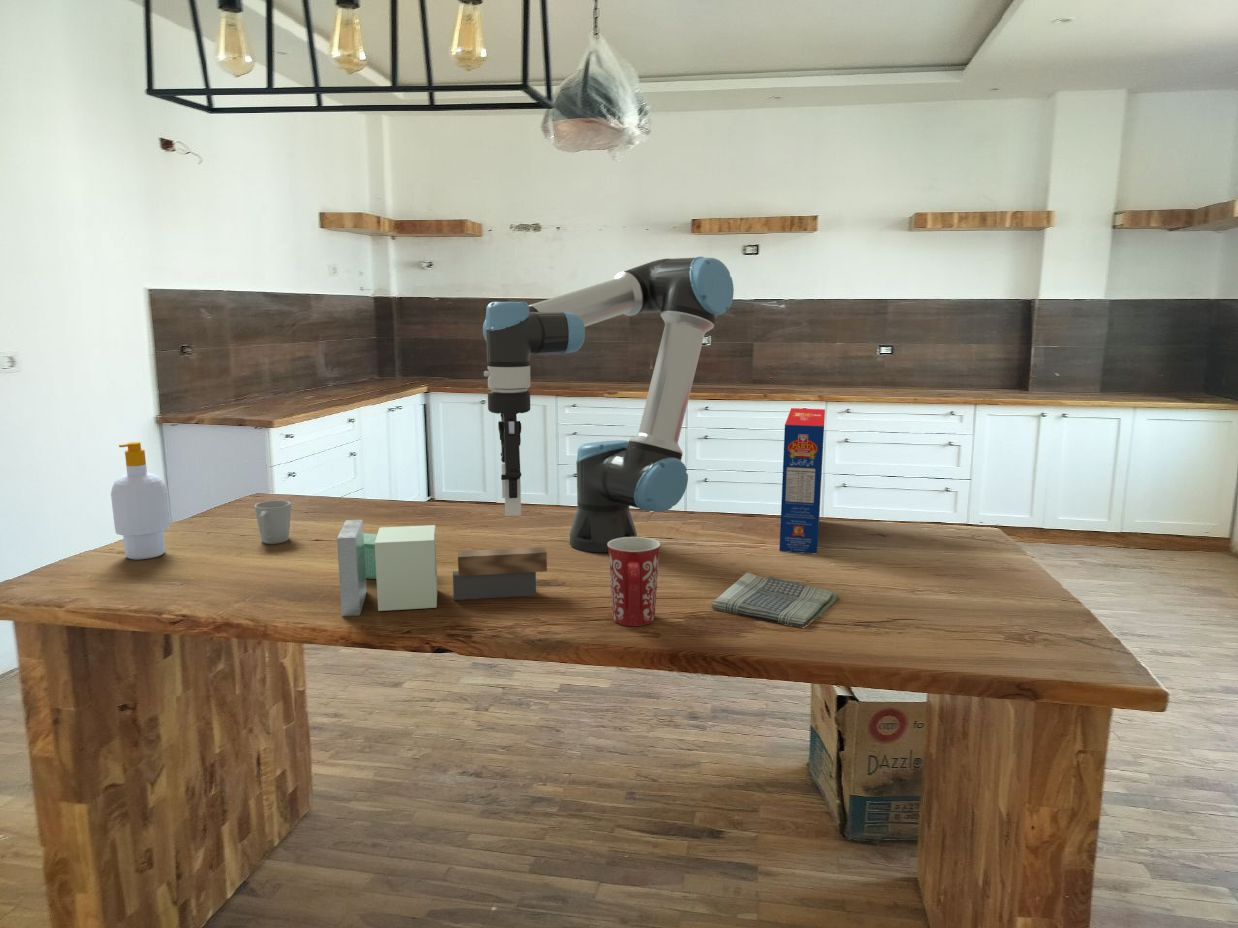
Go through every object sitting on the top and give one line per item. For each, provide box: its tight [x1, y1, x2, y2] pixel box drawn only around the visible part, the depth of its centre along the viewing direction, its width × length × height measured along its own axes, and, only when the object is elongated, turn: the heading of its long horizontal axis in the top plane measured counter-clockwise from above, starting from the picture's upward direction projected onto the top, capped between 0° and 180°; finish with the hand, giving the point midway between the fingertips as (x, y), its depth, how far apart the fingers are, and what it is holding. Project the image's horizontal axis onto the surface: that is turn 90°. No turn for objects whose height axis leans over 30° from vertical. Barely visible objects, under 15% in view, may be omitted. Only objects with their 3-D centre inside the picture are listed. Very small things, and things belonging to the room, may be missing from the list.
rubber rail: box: [452, 570, 537, 601], centre depth 158 cm, size 15×2×5 cm, turn 101°
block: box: [375, 524, 439, 612], centre depth 154 cm, size 10×10×12 cm
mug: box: [607, 536, 662, 627], centre depth 144 cm, size 13×9×14 cm
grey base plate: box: [336, 519, 368, 617], centre depth 152 cm, size 3×12×14 cm, turn 11°
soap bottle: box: [110, 441, 171, 560], centre depth 179 cm, size 10×10×24 cm
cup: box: [254, 499, 292, 545], centre depth 190 cm, size 8×10×8 cm
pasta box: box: [779, 407, 826, 554], centre depth 196 cm, size 28×8×28 cm, turn 166°
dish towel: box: [711, 572, 840, 628], centre depth 155 cm, size 19×18×3 cm
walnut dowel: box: [457, 546, 548, 576], centre depth 157 cm, size 16×4×4 cm, turn 101°
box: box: [363, 532, 378, 580], centre depth 169 cm, size 7×14×8 cm, turn 78°
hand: (511, 506), depth 156 cm, fingers open, 13 cm apart
